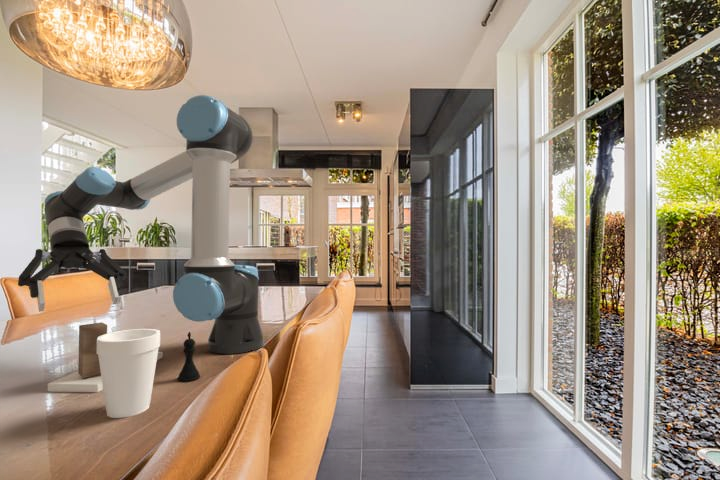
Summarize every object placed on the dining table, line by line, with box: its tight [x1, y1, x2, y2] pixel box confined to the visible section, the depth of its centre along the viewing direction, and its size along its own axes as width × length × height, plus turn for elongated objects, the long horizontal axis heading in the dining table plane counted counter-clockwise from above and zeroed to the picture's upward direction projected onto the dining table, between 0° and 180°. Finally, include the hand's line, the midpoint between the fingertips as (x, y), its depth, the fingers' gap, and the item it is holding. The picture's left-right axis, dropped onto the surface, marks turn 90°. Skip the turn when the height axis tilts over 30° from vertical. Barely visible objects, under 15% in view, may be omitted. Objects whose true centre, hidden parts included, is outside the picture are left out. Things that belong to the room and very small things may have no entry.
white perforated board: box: [47, 351, 164, 393], centre depth 82 cm, size 10×22×2 cm, turn 178°
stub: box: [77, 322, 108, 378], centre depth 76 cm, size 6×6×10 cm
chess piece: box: [177, 331, 201, 383], centre depth 78 cm, size 4×4×10 cm
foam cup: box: [97, 328, 161, 419], centre depth 63 cm, size 10×9×13 cm
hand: (81, 304), depth 83 cm, fingers open, 13 cm apart
